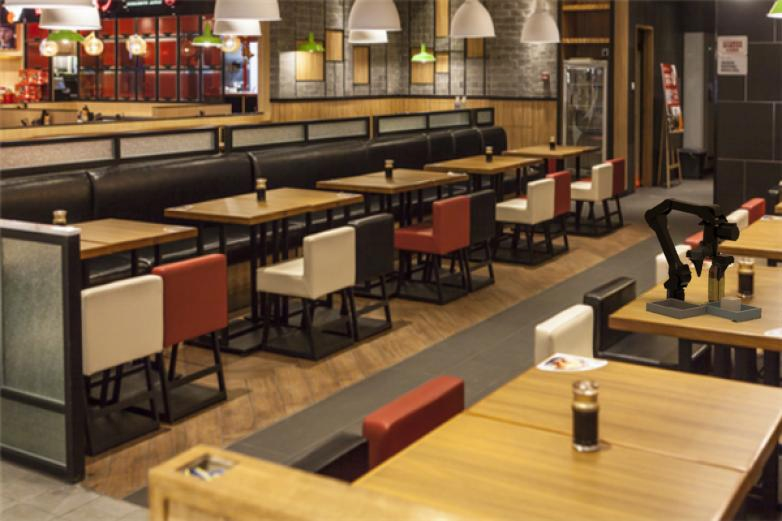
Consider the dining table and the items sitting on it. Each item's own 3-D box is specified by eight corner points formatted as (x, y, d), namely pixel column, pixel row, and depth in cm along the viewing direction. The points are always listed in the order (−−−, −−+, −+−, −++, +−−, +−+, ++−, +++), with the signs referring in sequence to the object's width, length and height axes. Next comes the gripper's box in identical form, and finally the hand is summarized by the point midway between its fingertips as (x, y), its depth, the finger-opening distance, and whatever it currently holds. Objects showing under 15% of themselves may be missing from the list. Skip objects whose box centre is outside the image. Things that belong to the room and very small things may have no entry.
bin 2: (700, 313, 378) (700, 304, 377) (724, 308, 385) (725, 299, 385) (736, 322, 364) (737, 312, 364) (761, 317, 371) (761, 308, 371)
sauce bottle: (722, 301, 398) (725, 251, 394) (725, 305, 392) (728, 254, 388) (705, 301, 399) (707, 251, 395) (708, 304, 392) (711, 254, 389)
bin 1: (645, 311, 381) (646, 302, 380) (671, 307, 388) (671, 298, 388) (679, 320, 367) (680, 311, 367) (705, 315, 374) (705, 306, 374)
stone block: (720, 313, 375) (721, 297, 374) (729, 311, 378) (730, 296, 377) (731, 316, 371) (732, 300, 370) (740, 314, 374) (741, 298, 373)
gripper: (676, 236, 382) (674, 277, 385) (716, 243, 367) (713, 285, 370) (696, 234, 388) (694, 274, 391) (736, 240, 373) (734, 282, 376)
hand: (708, 278), depth 382 cm, fingers open, 9 cm apart
